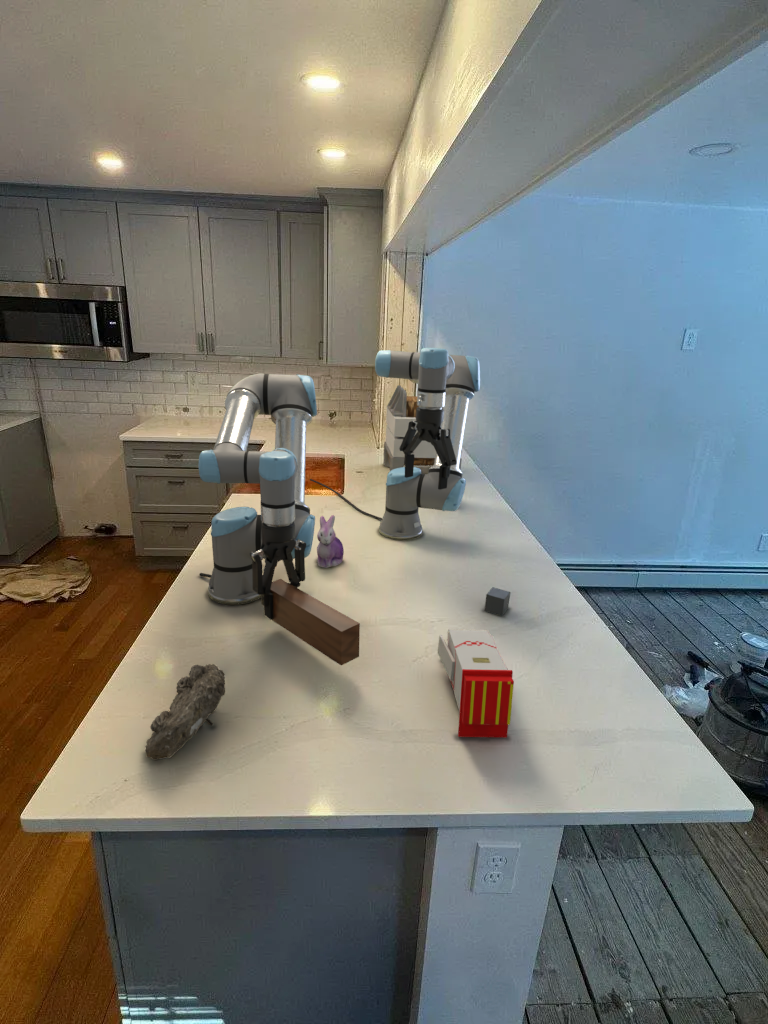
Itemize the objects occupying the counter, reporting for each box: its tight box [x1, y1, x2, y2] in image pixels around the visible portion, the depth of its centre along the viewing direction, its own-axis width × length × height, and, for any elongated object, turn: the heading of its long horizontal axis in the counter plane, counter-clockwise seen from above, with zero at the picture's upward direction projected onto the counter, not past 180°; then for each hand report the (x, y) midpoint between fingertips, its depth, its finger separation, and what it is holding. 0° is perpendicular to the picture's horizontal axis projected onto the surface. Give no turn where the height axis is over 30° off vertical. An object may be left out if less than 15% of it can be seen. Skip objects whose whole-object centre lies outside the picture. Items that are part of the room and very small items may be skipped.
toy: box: [437, 628, 515, 738], centre depth 117 cm, size 12×13×30 cm
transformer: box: [383, 384, 463, 472], centre depth 268 cm, size 34×33×41 cm
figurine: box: [316, 514, 345, 568], centre depth 173 cm, size 9×10×15 cm
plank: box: [263, 578, 361, 666], centre depth 126 cm, size 5×28×8 cm, turn 45°
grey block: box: [484, 586, 511, 617], centre depth 151 cm, size 5×5×5 cm
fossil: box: [144, 663, 226, 761], centre depth 105 cm, size 22×10×15 cm
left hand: (280, 613), depth 134 cm, fingers closed on plank, 5 cm apart
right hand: (425, 482), depth 161 cm, fingers open, 13 cm apart
